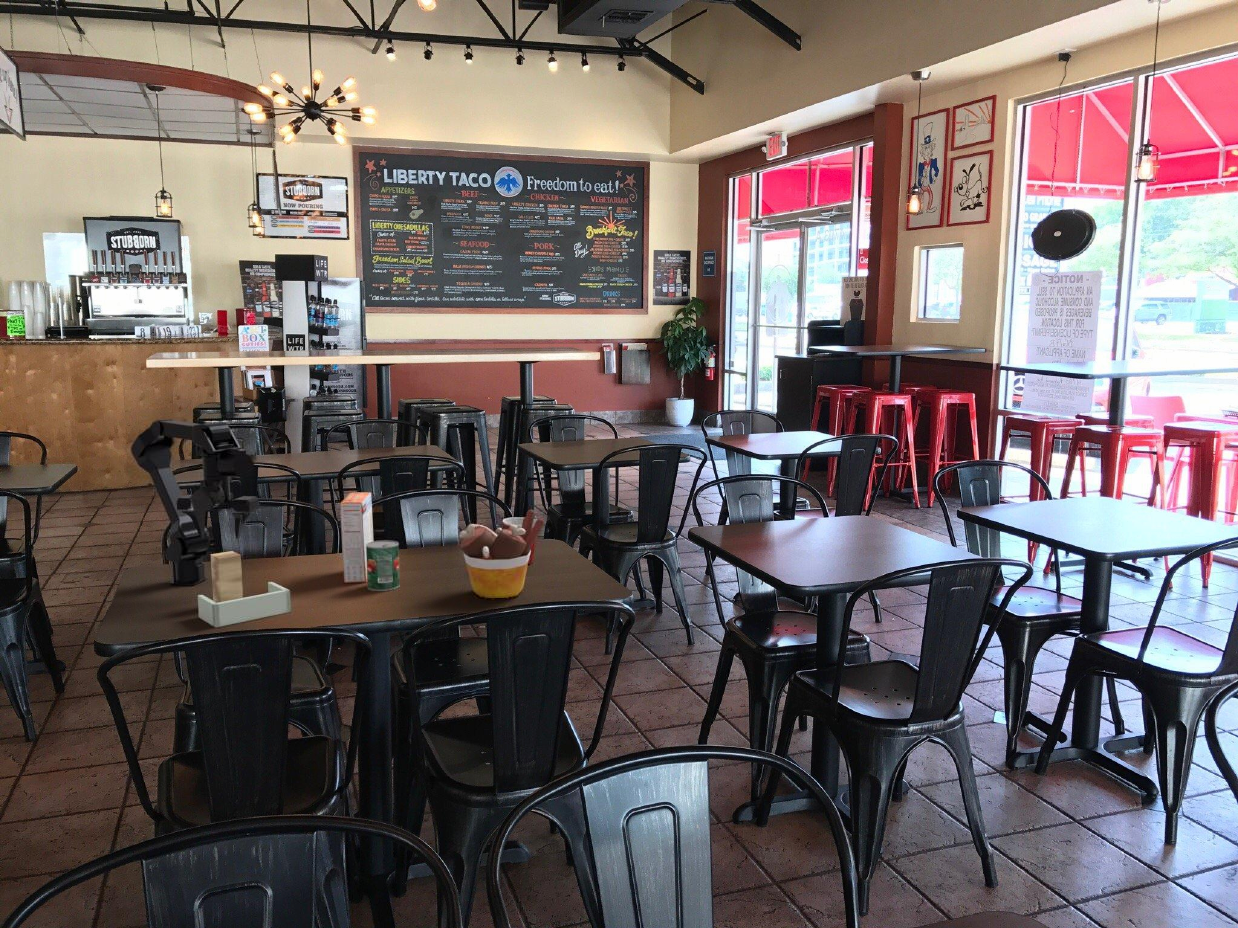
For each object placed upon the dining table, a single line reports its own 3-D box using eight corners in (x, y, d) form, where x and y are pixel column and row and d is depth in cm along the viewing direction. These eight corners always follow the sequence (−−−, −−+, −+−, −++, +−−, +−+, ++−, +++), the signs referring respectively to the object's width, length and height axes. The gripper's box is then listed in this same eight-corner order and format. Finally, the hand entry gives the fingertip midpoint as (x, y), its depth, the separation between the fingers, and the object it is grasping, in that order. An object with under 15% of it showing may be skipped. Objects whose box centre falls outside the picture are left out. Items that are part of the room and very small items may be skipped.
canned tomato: (361, 587, 242) (359, 543, 240) (388, 580, 247) (386, 538, 246) (379, 593, 236) (377, 549, 235) (406, 586, 242) (405, 543, 240)
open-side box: (198, 617, 217) (197, 595, 216) (273, 602, 228) (272, 581, 228) (215, 627, 210) (214, 605, 209) (291, 611, 221) (290, 590, 220)
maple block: (213, 604, 226) (210, 554, 225) (234, 600, 230) (232, 551, 228) (221, 609, 223) (218, 558, 221) (243, 605, 226) (240, 554, 224)
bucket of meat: (472, 607, 225) (470, 523, 222) (450, 589, 240) (448, 510, 237) (551, 596, 234) (551, 515, 231) (525, 579, 249) (525, 503, 246)
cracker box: (352, 569, 259) (349, 491, 255) (375, 568, 259) (372, 491, 256) (341, 583, 245) (338, 501, 242) (366, 583, 245) (363, 501, 242)
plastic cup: (540, 568, 260) (540, 524, 258) (500, 568, 260) (499, 524, 259) (544, 558, 271) (544, 516, 269) (505, 558, 271) (505, 515, 269)
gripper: (160, 479, 228) (164, 544, 230) (235, 481, 225) (239, 546, 228) (187, 471, 239) (191, 533, 241) (259, 473, 236) (262, 536, 239)
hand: (219, 537), depth 237 cm, fingers open, 9 cm apart
